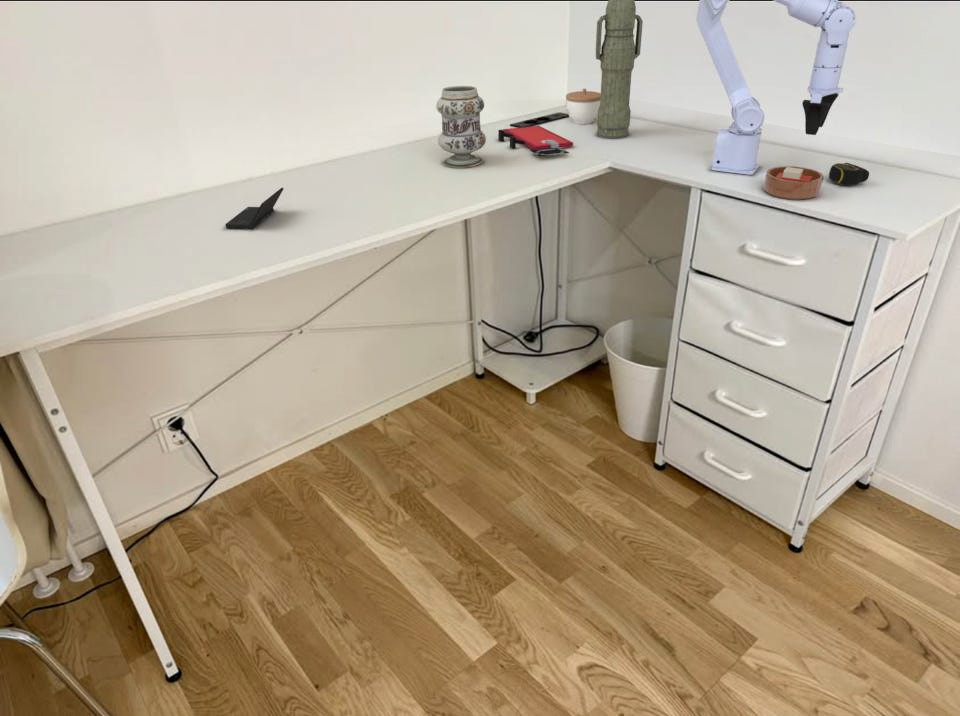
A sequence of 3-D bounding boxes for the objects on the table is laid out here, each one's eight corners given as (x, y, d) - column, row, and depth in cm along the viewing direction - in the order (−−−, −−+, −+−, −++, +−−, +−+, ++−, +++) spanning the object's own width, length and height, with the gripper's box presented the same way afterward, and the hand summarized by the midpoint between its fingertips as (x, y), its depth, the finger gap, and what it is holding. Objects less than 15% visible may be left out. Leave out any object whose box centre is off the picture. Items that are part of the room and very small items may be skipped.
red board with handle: (532, 160, 176) (586, 154, 180) (533, 149, 174) (586, 143, 178) (490, 135, 200) (538, 130, 204) (490, 125, 199) (538, 120, 203)
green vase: (639, 136, 194) (651, -5, 175) (599, 140, 191) (607, -3, 173) (625, 129, 201) (635, -8, 183) (587, 133, 199) (593, -5, 180)
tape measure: (868, 185, 152) (872, 168, 150) (842, 189, 151) (846, 172, 149) (845, 176, 158) (849, 160, 156) (820, 180, 156) (824, 163, 154)
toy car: (773, 190, 150) (776, 170, 148) (776, 185, 153) (780, 165, 151) (806, 194, 147) (811, 174, 145) (809, 189, 150) (814, 169, 148)
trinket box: (564, 125, 207) (565, 92, 202) (566, 117, 216) (567, 85, 211) (600, 126, 205) (602, 92, 200) (601, 117, 214) (603, 85, 209)
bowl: (758, 196, 149) (761, 177, 147) (769, 181, 157) (772, 163, 155) (814, 203, 144) (818, 184, 142) (823, 188, 152) (827, 170, 150)
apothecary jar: (478, 153, 184) (475, 81, 175) (492, 166, 174) (491, 90, 165) (434, 159, 181) (429, 86, 172) (446, 171, 171) (441, 95, 162)
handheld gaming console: (237, 203, 151) (256, 168, 146) (267, 221, 153) (288, 187, 148) (222, 230, 142) (242, 193, 137) (254, 248, 145) (276, 213, 139)
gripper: (842, 72, 143) (827, 139, 150) (853, 61, 154) (838, 124, 161) (806, 70, 146) (793, 136, 154) (818, 60, 157) (806, 122, 164)
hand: (814, 130), depth 157 cm, fingers open, 7 cm apart
